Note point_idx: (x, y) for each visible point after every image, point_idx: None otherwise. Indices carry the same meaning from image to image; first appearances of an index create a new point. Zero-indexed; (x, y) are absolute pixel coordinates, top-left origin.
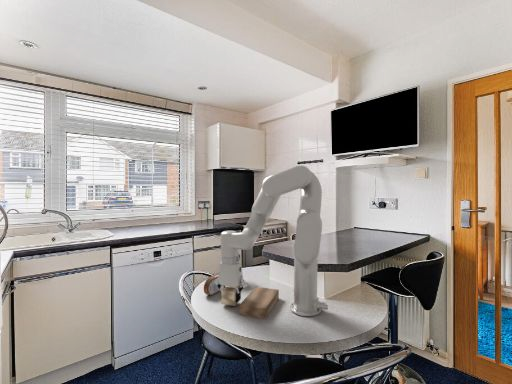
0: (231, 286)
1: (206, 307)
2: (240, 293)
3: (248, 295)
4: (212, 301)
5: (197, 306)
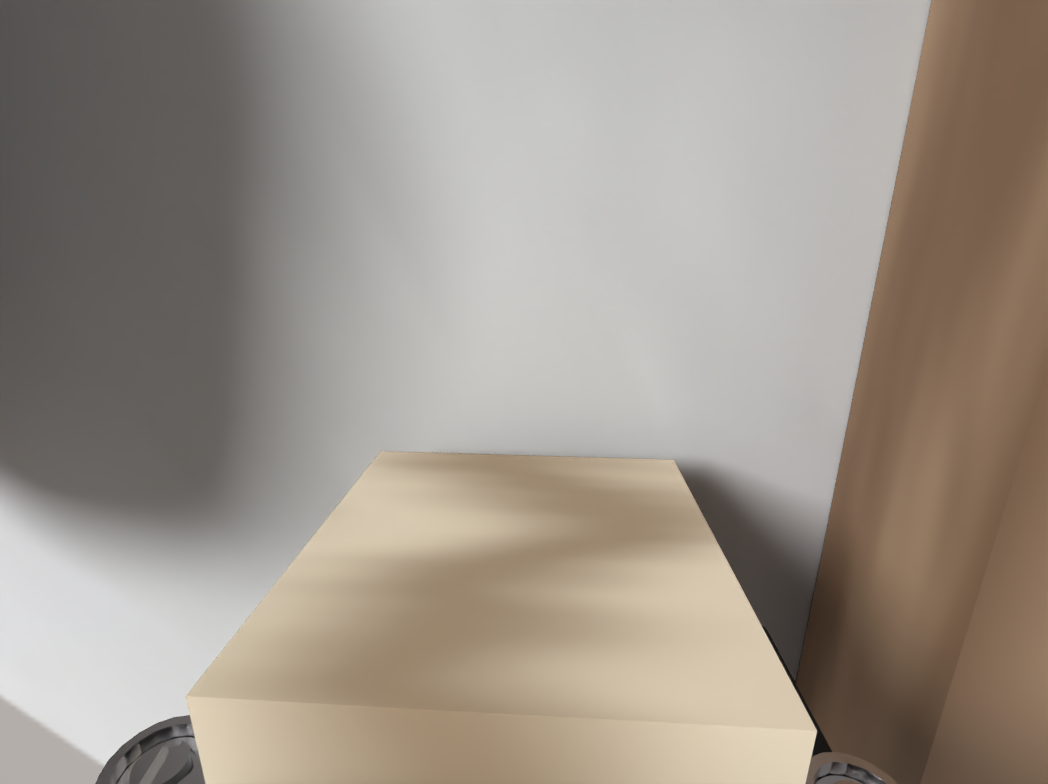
0: (425, 768)
1: None
2: (820, 748)
3: (998, 571)
4: (154, 535)
5: (70, 731)
